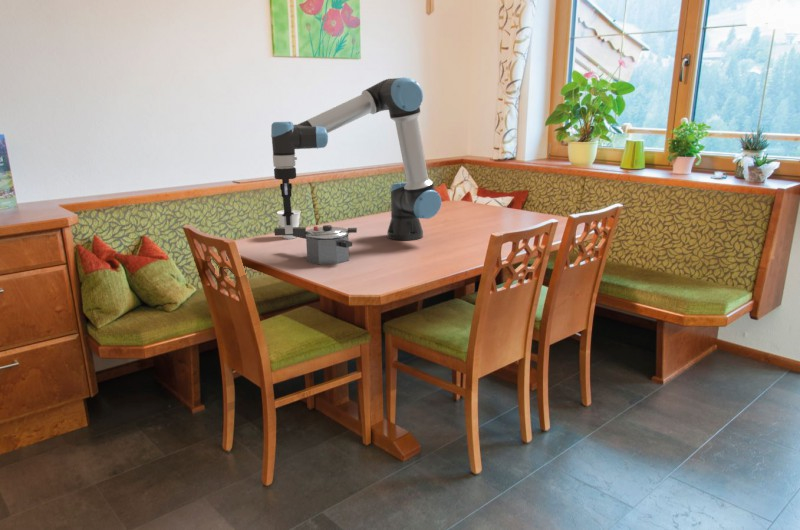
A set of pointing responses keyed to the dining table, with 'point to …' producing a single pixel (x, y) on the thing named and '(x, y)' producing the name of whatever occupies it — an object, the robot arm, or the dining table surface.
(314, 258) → the cooker pot
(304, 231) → the lid
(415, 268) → the dining table surface
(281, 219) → the cup
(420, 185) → the robot arm
